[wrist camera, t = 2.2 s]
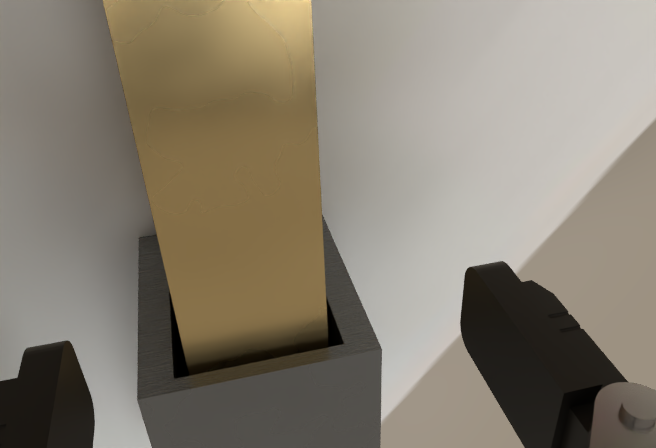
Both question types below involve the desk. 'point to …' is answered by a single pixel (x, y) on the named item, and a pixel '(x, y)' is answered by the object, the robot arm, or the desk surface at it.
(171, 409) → the grey sleeve
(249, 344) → the brass bar
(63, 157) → the desk surface
